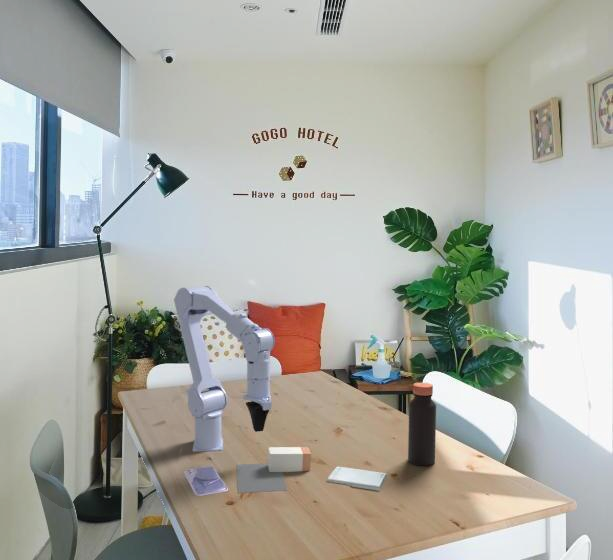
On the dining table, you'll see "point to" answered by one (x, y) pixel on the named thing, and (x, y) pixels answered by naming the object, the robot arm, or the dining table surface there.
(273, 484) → the mat
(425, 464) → the bottle
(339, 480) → the hard drive
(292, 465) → the block
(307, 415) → the dining table surface
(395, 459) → the dining table surface
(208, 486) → the mobile phone
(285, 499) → the dining table surface
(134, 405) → the dining table surface
